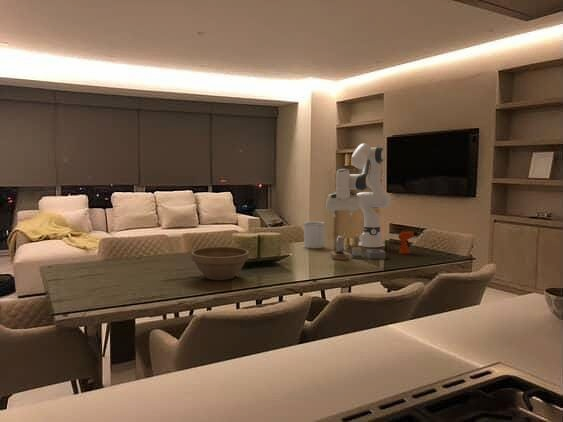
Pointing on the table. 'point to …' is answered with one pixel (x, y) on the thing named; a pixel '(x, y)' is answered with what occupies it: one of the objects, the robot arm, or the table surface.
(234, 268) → the flower pot
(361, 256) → the guide channel
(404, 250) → the toy drill
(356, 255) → the release bar
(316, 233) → the utensil holder
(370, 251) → the socket block
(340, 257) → the rack
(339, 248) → the drill bit
